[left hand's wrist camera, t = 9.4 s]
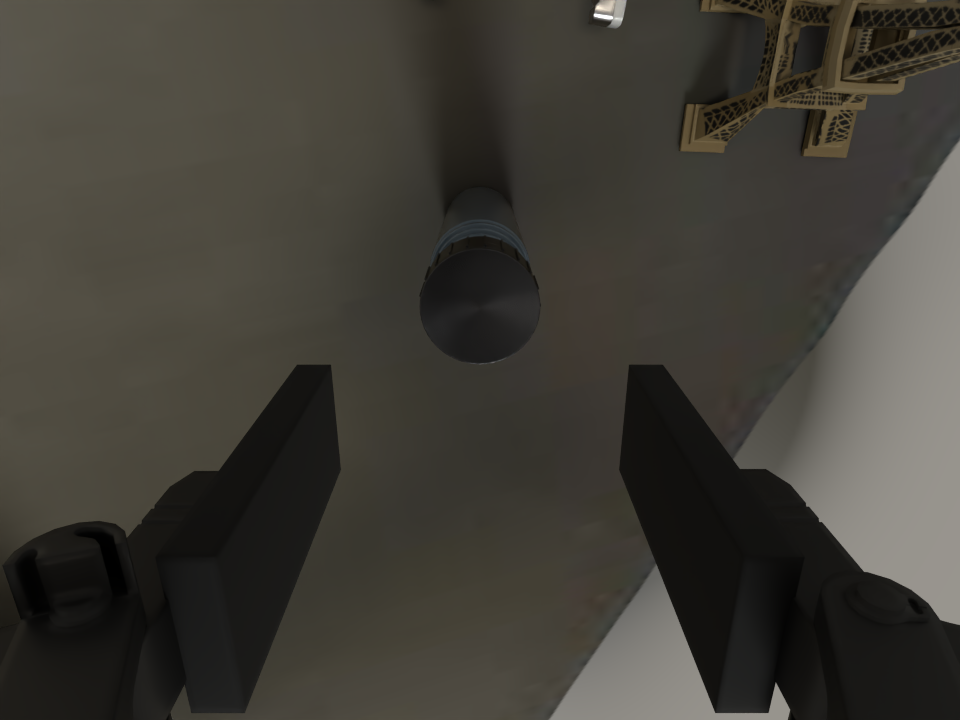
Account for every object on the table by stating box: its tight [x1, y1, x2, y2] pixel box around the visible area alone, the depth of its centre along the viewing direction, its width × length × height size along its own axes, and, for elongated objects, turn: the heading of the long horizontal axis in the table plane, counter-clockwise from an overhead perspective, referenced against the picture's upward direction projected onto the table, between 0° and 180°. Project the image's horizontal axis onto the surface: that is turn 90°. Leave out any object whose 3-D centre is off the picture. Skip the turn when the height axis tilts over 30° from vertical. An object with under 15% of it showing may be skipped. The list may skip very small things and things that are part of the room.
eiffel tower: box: [679, 0, 960, 158], centre depth 26 cm, size 11×11×25 cm
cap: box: [420, 235, 541, 364], centre depth 24 cm, size 4×4×2 cm
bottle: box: [430, 187, 530, 267], centre depth 32 cm, size 5×5×20 cm
